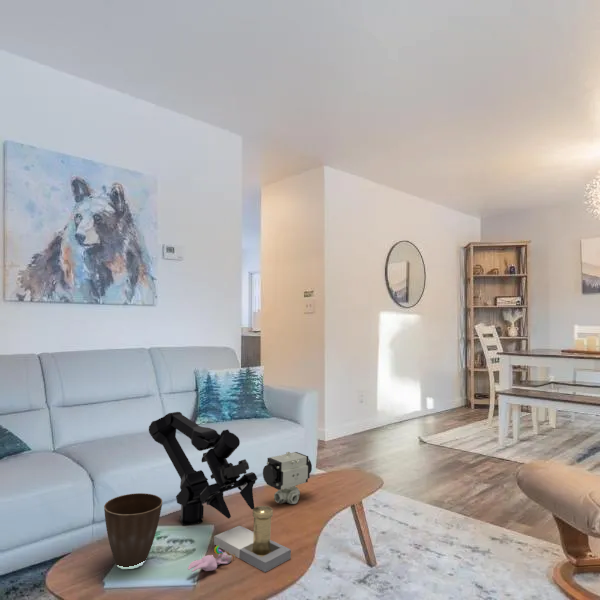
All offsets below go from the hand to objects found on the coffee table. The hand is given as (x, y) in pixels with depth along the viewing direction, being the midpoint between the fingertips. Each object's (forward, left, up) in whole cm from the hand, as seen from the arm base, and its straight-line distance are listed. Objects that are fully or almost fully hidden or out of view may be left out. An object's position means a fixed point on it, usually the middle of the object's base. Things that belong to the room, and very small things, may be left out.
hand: (241, 513), depth 140 cm
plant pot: (-30, +1, -10) cm, 32 cm away
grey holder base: (+2, -4, -9) cm, 10 cm away
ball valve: (+26, +26, -10) cm, 38 cm away
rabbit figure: (-11, -10, -10) cm, 17 cm away
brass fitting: (+4, -8, -9) cm, 13 cm away
